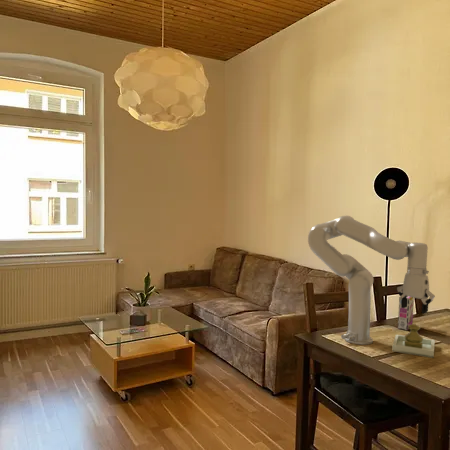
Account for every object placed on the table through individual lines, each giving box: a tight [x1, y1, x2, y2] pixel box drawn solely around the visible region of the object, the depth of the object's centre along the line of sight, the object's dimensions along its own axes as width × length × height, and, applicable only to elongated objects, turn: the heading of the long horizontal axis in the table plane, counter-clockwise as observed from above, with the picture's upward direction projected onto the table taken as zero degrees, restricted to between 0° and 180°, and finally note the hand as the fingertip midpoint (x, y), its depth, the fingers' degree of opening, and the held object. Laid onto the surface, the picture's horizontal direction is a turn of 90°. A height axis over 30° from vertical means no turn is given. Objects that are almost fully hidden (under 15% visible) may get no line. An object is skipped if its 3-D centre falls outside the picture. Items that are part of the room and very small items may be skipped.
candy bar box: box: [397, 296, 415, 331], centre depth 218 cm, size 11×5×16 cm, turn 144°
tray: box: [391, 334, 436, 359], centre depth 188 cm, size 16×16×3 cm
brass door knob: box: [404, 323, 424, 349], centre depth 187 cm, size 7×7×10 cm
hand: (414, 310), depth 187 cm, fingers open, 9 cm apart
